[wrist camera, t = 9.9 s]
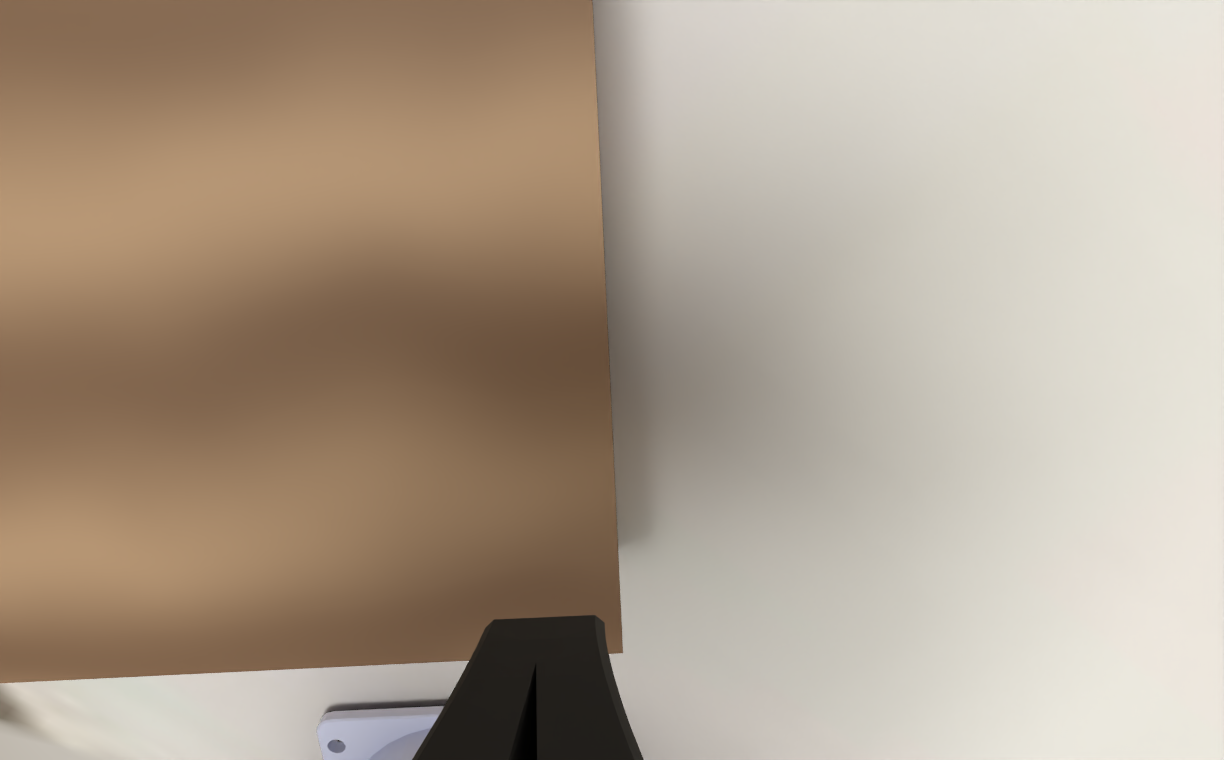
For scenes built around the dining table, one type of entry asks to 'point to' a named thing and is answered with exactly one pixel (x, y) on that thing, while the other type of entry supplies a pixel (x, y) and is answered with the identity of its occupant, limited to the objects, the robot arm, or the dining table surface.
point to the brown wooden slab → (298, 333)
